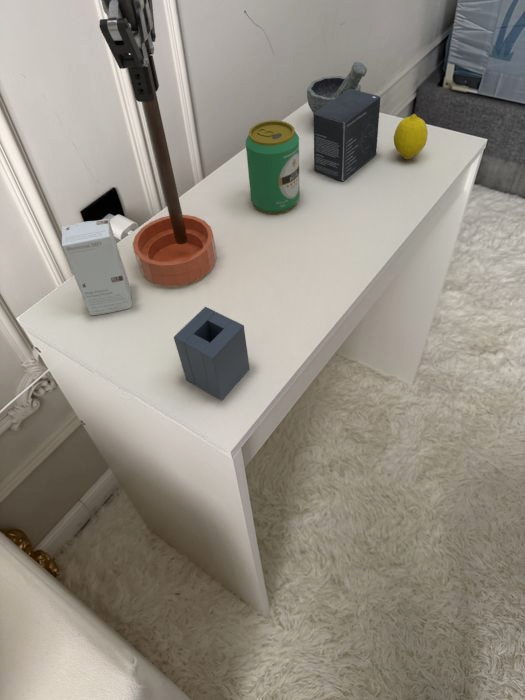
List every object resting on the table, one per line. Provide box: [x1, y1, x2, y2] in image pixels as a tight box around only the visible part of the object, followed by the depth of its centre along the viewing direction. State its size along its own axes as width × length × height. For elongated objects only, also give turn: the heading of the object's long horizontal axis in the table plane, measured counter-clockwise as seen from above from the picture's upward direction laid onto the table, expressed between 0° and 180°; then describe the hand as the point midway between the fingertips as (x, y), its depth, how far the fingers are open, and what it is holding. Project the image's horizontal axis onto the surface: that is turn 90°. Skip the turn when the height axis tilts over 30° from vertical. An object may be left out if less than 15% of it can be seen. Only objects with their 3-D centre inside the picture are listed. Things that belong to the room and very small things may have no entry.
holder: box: [173, 306, 251, 402], centre depth 61 cm, size 6×6×8 cm
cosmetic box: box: [61, 218, 133, 316], centre depth 69 cm, size 6×4×12 cm
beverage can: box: [245, 119, 300, 215], centre depth 82 cm, size 8×8×12 cm
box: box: [312, 89, 381, 182], centre depth 89 cm, size 11×7×10 cm, turn 139°
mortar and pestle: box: [306, 61, 368, 114], centre depth 97 cm, size 11×9×12 cm
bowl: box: [132, 214, 217, 287], centre depth 76 cm, size 11×11×4 cm
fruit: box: [393, 113, 429, 160], centre depth 89 cm, size 6×6×8 cm
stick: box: [130, 49, 188, 244], centre depth 67 cm, size 2×2×26 cm
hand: (147, 94), depth 60 cm, fingers closed on stick, 2 cm apart
